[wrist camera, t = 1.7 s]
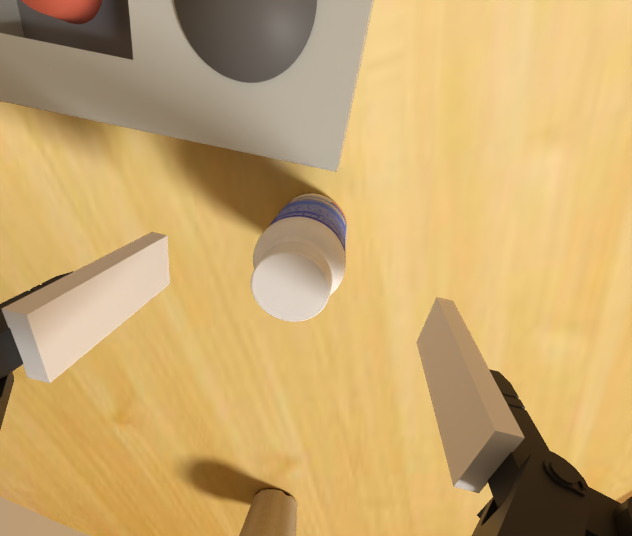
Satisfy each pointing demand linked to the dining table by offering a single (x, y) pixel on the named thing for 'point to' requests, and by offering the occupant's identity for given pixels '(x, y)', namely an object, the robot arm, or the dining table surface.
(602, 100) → the dining table surface
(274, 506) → the flower pot
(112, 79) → the grey recessed tray
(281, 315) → the pill bottle
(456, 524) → the dining table surface
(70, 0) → the breaker button
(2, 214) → the dining table surface
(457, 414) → the robot arm
